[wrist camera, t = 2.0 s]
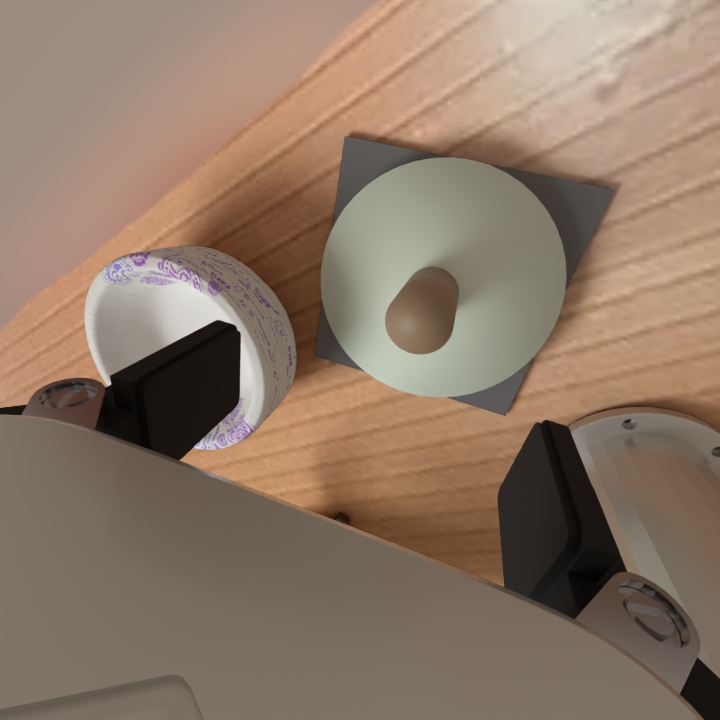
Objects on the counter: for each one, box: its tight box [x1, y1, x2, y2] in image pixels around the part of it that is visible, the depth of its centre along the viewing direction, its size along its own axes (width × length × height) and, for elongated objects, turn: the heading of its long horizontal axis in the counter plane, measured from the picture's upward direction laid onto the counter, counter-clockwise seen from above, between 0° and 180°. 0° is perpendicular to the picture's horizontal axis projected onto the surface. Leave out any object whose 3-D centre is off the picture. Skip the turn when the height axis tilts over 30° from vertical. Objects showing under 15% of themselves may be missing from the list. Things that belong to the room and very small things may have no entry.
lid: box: [320, 157, 567, 397], centre depth 22 cm, size 16×16×7 cm
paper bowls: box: [84, 246, 297, 450], centre depth 28 cm, size 15×15×8 cm
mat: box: [315, 136, 614, 416], centre depth 25 cm, size 16×16×1 cm
